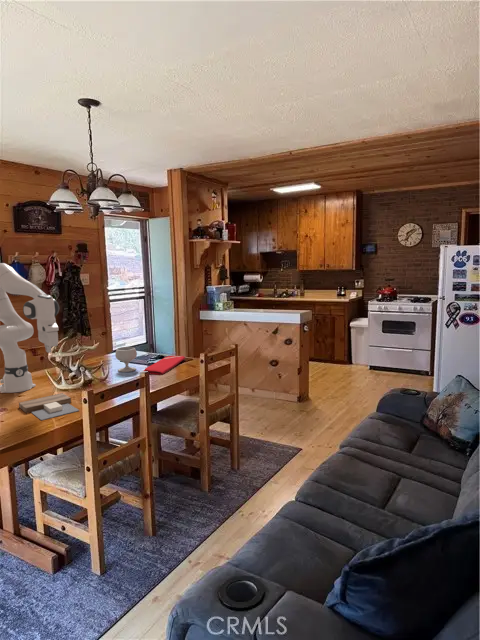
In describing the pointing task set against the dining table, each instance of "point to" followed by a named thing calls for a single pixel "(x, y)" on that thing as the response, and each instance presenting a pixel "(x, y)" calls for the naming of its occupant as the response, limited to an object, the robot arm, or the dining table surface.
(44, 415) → the mat
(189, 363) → the dining table surface
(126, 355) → the chalice
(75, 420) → the dining table surface
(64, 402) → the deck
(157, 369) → the dish drying mat
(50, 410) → the tile
